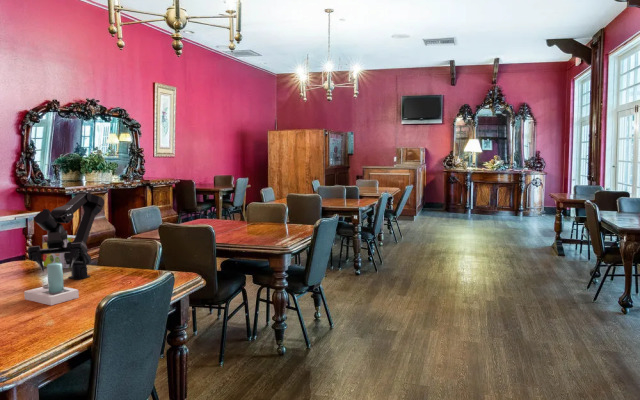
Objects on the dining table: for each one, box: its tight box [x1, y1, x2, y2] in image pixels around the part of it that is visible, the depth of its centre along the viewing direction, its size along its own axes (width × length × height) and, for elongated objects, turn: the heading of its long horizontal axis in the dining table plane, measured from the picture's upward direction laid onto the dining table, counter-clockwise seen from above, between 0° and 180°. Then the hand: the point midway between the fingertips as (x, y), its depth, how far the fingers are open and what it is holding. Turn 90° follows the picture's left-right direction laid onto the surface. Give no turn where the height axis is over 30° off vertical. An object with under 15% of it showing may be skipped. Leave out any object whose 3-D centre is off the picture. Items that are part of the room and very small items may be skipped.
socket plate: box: [23, 284, 80, 306], centre depth 191 cm, size 16×11×4 cm
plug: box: [46, 263, 65, 295], centre depth 189 cm, size 5×5×13 cm
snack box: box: [41, 234, 76, 270], centre depth 242 cm, size 21×6×15 cm, turn 71°
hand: (56, 269), depth 195 cm, fingers open, 9 cm apart
